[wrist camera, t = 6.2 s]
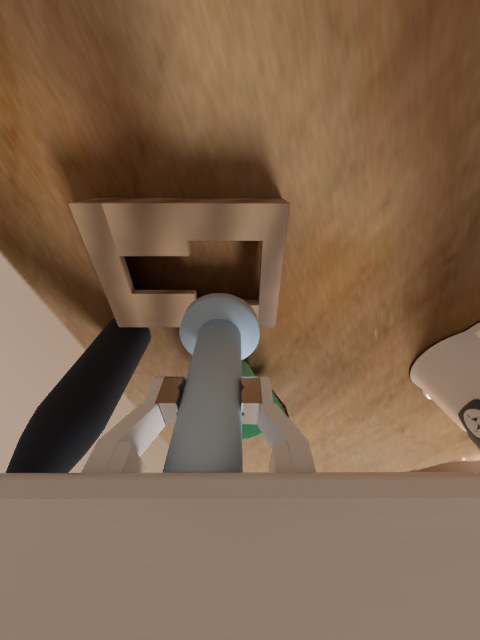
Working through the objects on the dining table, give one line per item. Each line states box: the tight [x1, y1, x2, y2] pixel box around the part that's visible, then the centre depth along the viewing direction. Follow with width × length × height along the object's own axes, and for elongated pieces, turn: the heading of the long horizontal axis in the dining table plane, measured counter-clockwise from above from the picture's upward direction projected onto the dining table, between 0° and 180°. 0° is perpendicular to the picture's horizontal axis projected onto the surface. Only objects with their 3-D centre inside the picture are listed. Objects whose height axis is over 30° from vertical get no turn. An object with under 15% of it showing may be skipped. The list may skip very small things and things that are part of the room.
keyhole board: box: [68, 198, 290, 327], centre depth 25 cm, size 20×14×4 cm
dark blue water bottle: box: [6, 318, 151, 473], centre depth 21 cm, size 6×6×30 cm
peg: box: [163, 293, 260, 473], centre depth 11 cm, size 6×6×12 cm
